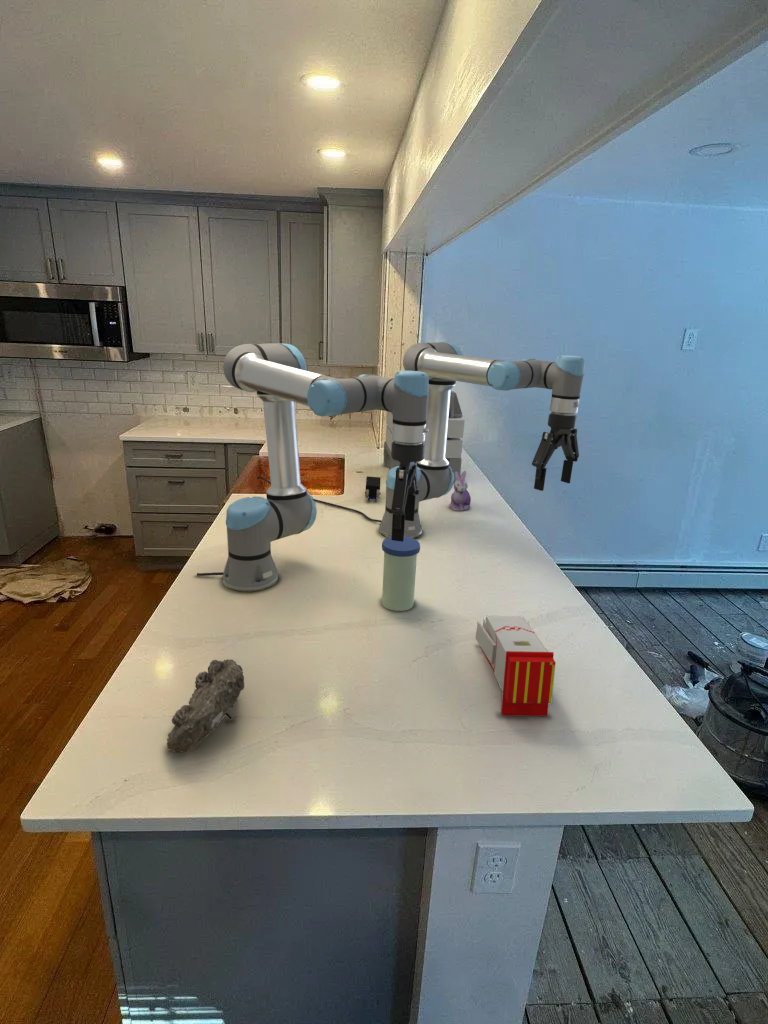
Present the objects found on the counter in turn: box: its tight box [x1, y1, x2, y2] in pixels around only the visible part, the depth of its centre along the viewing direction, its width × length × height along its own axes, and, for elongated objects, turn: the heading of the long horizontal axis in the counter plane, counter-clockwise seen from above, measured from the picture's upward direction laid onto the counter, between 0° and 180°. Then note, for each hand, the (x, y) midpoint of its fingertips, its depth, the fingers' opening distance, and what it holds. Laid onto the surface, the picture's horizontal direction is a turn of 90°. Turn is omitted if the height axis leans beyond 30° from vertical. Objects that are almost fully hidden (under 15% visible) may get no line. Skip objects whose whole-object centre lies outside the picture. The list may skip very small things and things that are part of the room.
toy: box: [475, 615, 557, 717], centre depth 123 cm, size 12×13×30 cm
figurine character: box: [364, 475, 381, 503], centre depth 235 cm, size 7×8×15 cm
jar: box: [381, 551, 418, 612], centre depth 150 cm, size 9×9×17 cm
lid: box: [381, 537, 421, 557], centre depth 147 cm, size 10×10×2 cm
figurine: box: [449, 470, 472, 511], centre depth 227 cm, size 9×10×15 cm
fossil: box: [166, 658, 245, 754], centre depth 106 cm, size 22×10×15 cm
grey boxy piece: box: [383, 390, 465, 483], centre depth 268 cm, size 34×33×41 cm
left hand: (403, 529), depth 134 cm, fingers open, 13 cm apart
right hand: (552, 485), depth 166 cm, fingers open, 13 cm apart
